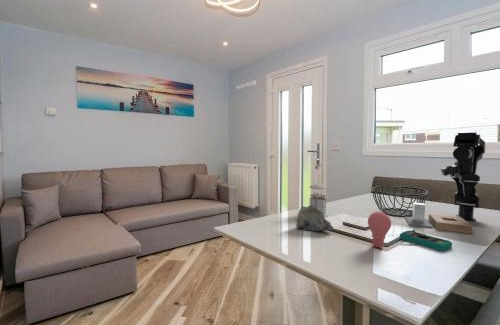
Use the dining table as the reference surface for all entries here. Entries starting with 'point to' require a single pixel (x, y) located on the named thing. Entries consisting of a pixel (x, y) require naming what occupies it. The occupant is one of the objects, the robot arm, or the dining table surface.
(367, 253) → the dining table surface
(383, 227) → the light bulb
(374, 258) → the dining table surface
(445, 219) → the walnut socket block
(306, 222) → the mineral rock
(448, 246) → the digital multimeter
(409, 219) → the grey flat slab
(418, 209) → the steel peg
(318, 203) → the french press
